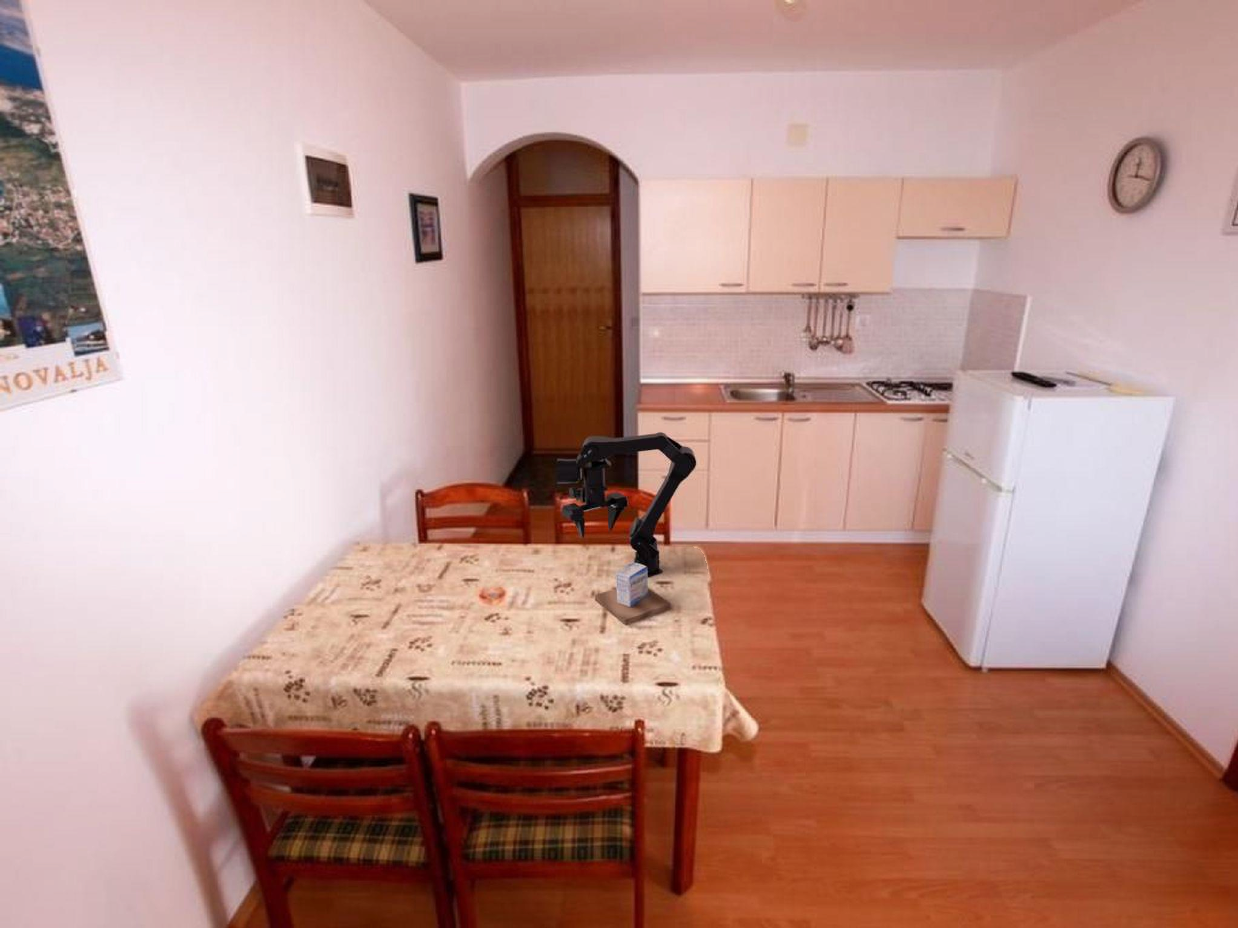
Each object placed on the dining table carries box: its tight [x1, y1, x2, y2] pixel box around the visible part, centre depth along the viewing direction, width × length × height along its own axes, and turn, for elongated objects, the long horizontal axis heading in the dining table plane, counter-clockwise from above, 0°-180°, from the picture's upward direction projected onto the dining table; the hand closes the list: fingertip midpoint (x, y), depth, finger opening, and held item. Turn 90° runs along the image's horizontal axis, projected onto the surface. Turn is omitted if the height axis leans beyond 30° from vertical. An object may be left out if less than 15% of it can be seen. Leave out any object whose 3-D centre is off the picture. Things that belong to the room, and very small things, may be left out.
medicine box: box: [615, 562, 649, 607], centre depth 170 cm, size 8×4×9 cm, turn 141°
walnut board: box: [594, 587, 672, 626], centre depth 172 cm, size 14×15×2 cm
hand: (596, 533), depth 186 cm, fingers open, 9 cm apart
